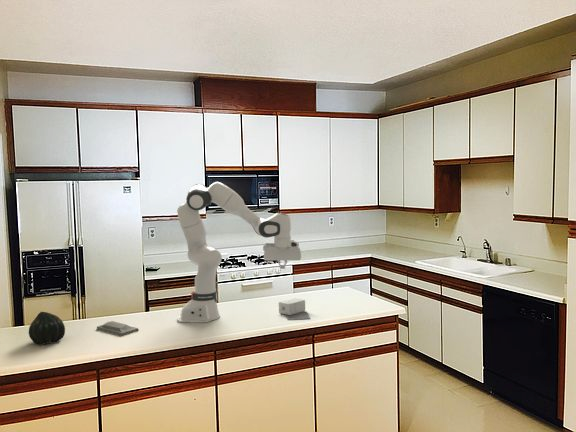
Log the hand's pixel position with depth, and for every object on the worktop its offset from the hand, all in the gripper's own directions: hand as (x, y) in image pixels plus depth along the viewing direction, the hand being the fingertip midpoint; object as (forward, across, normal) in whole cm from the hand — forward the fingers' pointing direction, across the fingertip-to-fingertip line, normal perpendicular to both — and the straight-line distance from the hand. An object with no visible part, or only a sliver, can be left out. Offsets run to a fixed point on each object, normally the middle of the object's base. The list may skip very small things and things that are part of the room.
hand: (282, 268), depth 251 cm
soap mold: (+29, -84, -12) cm, 90 cm away
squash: (+29, -113, -24) cm, 119 cm away
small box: (+22, 0, 0) cm, 22 cm away
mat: (+26, +8, -3) cm, 27 cm away
